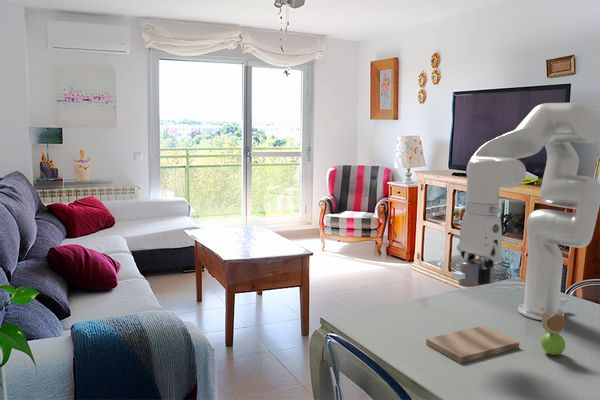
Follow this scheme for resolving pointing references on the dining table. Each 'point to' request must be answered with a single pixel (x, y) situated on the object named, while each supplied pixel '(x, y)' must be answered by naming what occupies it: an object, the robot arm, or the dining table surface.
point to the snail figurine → (553, 333)
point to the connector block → (470, 273)
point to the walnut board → (472, 344)
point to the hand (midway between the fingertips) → (476, 280)
